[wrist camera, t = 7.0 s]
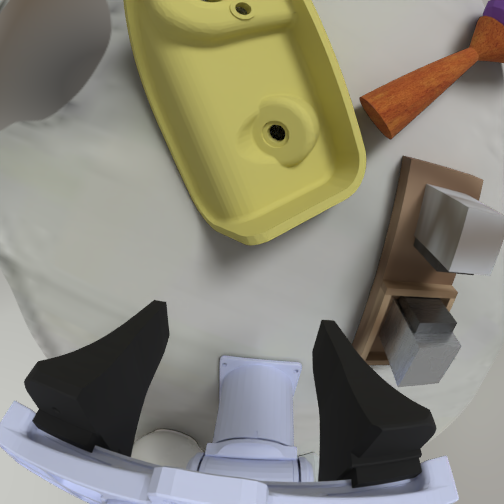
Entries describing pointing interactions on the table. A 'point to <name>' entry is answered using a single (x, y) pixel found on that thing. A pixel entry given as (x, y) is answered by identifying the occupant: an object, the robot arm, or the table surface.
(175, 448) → the brown curved strip
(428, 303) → the grey metal block
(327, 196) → the plastic component
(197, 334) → the table surface
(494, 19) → the kendama
